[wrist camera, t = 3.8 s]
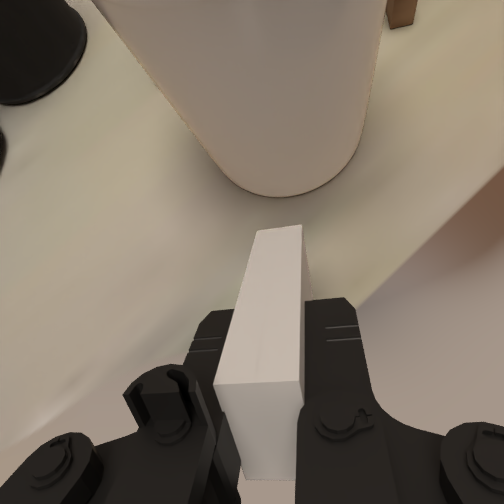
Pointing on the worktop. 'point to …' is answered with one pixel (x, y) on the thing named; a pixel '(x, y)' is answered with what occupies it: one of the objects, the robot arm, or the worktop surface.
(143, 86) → the worktop surface
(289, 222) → the worktop surface
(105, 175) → the worktop surface
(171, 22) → the candle holder
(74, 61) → the milk frother
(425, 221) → the worktop surface
